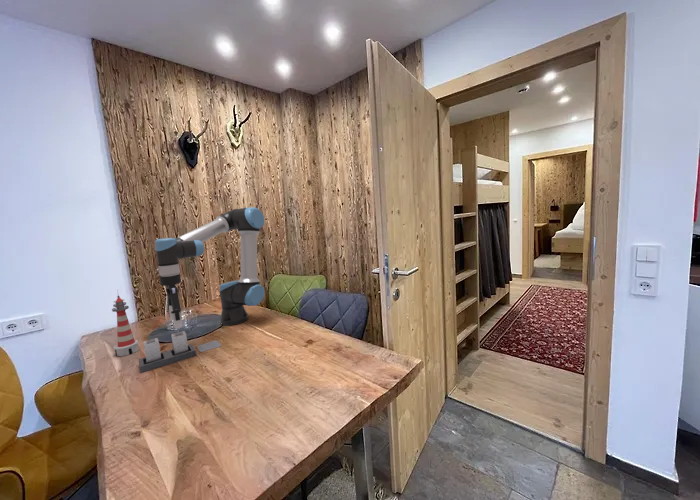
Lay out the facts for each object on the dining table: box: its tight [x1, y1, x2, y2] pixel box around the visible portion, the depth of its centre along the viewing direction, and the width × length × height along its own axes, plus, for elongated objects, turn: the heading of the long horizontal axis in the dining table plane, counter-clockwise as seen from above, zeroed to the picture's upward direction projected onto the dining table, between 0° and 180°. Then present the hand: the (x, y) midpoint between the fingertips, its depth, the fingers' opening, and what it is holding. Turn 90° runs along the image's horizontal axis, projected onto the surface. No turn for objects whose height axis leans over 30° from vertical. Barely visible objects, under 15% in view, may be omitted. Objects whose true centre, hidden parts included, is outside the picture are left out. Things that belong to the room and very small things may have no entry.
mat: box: [196, 339, 223, 353], centre depth 136 cm, size 9×9×1 cm
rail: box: [138, 343, 197, 374], centre depth 124 cm, size 20×9×3 cm, turn 128°
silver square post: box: [143, 337, 162, 364], centre depth 120 cm, size 5×5×10 cm
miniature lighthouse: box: [111, 289, 139, 357], centre depth 134 cm, size 9×9×30 cm
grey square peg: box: [171, 330, 189, 356], centre depth 126 cm, size 5×5×10 cm
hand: (176, 323), depth 125 cm, fingers open, 13 cm apart
